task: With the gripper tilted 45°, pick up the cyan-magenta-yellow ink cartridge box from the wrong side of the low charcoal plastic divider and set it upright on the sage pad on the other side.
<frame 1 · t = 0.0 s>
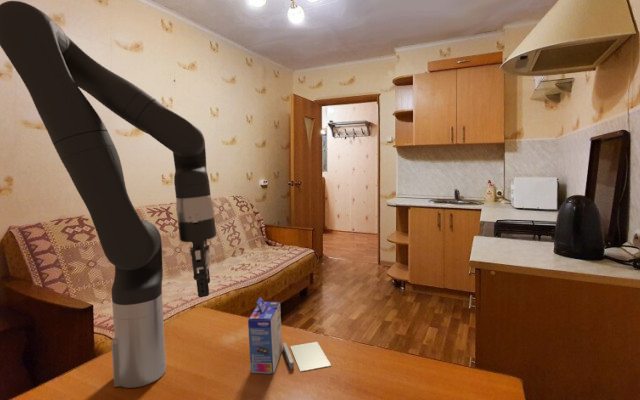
hand: (204, 289, 74), 17 cm above the table, tool pointing down, fingers open, 8 cm apart
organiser: (288, 358, 77), on the table
ink cartridge box: (266, 362, 76), on the table
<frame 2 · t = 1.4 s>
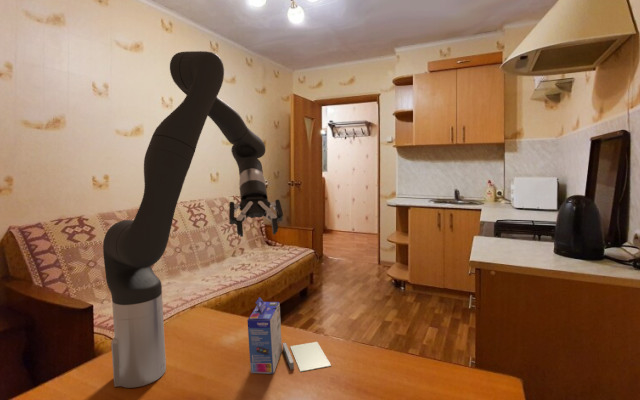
hand: (258, 233, 88), 27 cm above the table, tool tilted 45°, fingers open, 8 cm apart
nothing on the table moved.
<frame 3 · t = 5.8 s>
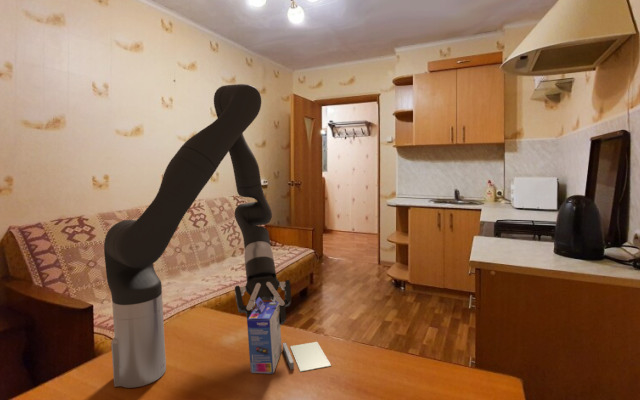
hand: (267, 325, 78), 7 cm above the table, tool tilted 45°, fingers closed on ink cartridge box, 6 cm apart
ink cartridge box: (266, 362, 76), on the table, touching gripper
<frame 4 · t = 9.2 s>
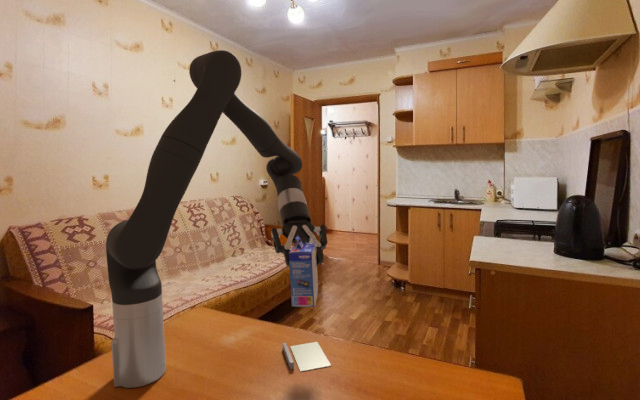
hand: (305, 264, 79), 21 cm above the table, tool tilted 45°, fingers closed on ink cartridge box, 6 cm apart
ink cartridge box: (304, 299, 77), point 14 cm above the table, touching gripper
when the fingers open (9 cm above the table, at t = 12.8 s): ink cartridge box stays where it is, resting on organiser.
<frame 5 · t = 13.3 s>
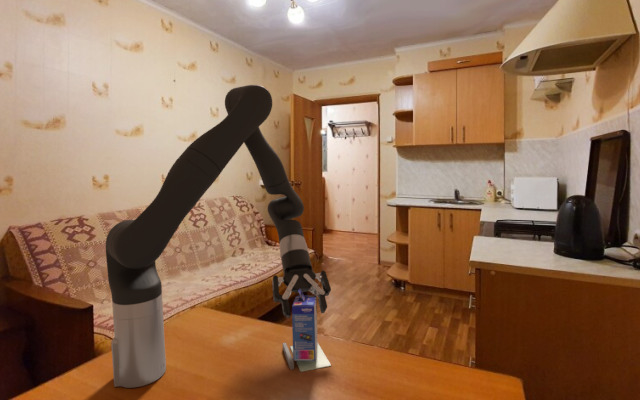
hand: (306, 314, 80), 9 cm above the table, tool tilted 45°, fingers open, 8 cm apart
ink cartridge box: (305, 353, 78), point 1 cm above the table, touching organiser
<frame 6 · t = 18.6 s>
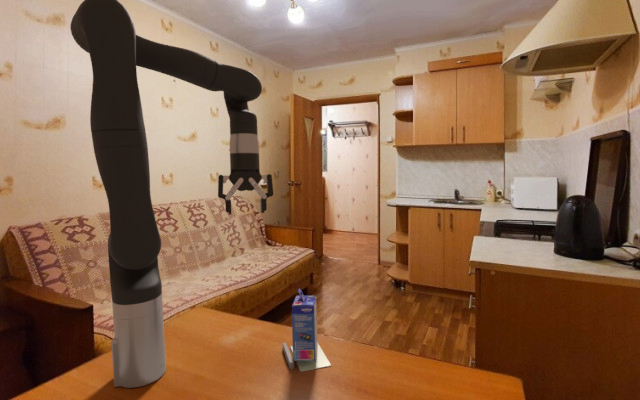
hand: (246, 213, 90), 32 cm above the table, tool pointing down, fingers open, 8 cm apart
nothing on the table moved.
at the end: ink cartridge box 1.0 cm from the target spot on the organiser, point 0.6 cm above the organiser's base; ink cartridge box tilted 8°; the gripper is holding nothing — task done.
